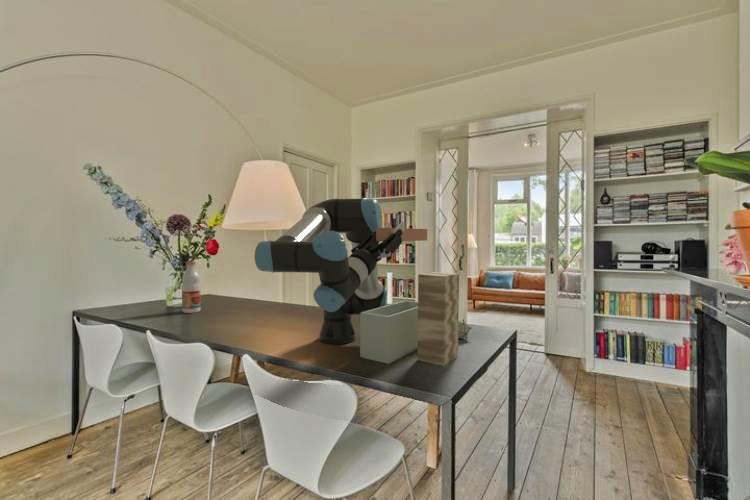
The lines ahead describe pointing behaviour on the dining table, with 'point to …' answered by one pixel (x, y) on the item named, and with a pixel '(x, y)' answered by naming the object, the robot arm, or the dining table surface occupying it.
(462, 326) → the grey bushy clump
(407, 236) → the beam
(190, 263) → the fruit juice
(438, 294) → the stand
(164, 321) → the dining table surface
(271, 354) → the dining table surface
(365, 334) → the bin
